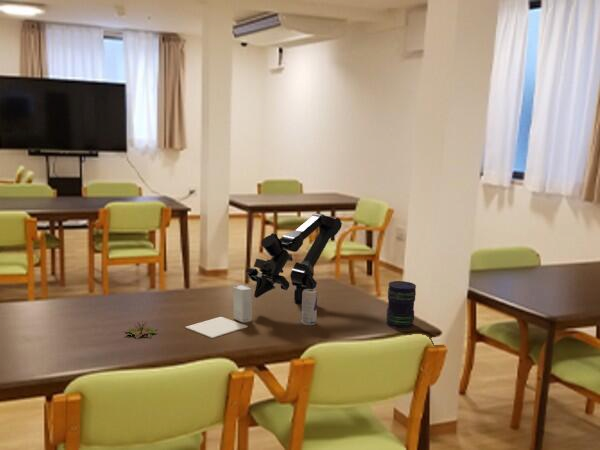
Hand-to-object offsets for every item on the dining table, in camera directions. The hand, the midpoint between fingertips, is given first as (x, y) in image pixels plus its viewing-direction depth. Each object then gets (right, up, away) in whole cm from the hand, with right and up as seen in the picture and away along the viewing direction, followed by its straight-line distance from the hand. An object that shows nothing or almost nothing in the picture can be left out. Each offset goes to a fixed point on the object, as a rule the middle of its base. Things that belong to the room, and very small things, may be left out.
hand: (255, 297), depth 220 cm
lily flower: (-37, -10, -20) cm, 43 cm away
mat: (-12, -9, -12) cm, 20 cm away
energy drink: (+19, -9, -4) cm, 22 cm away
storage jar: (+52, -10, -3) cm, 53 cm away
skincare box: (-4, -8, -3) cm, 10 cm away
